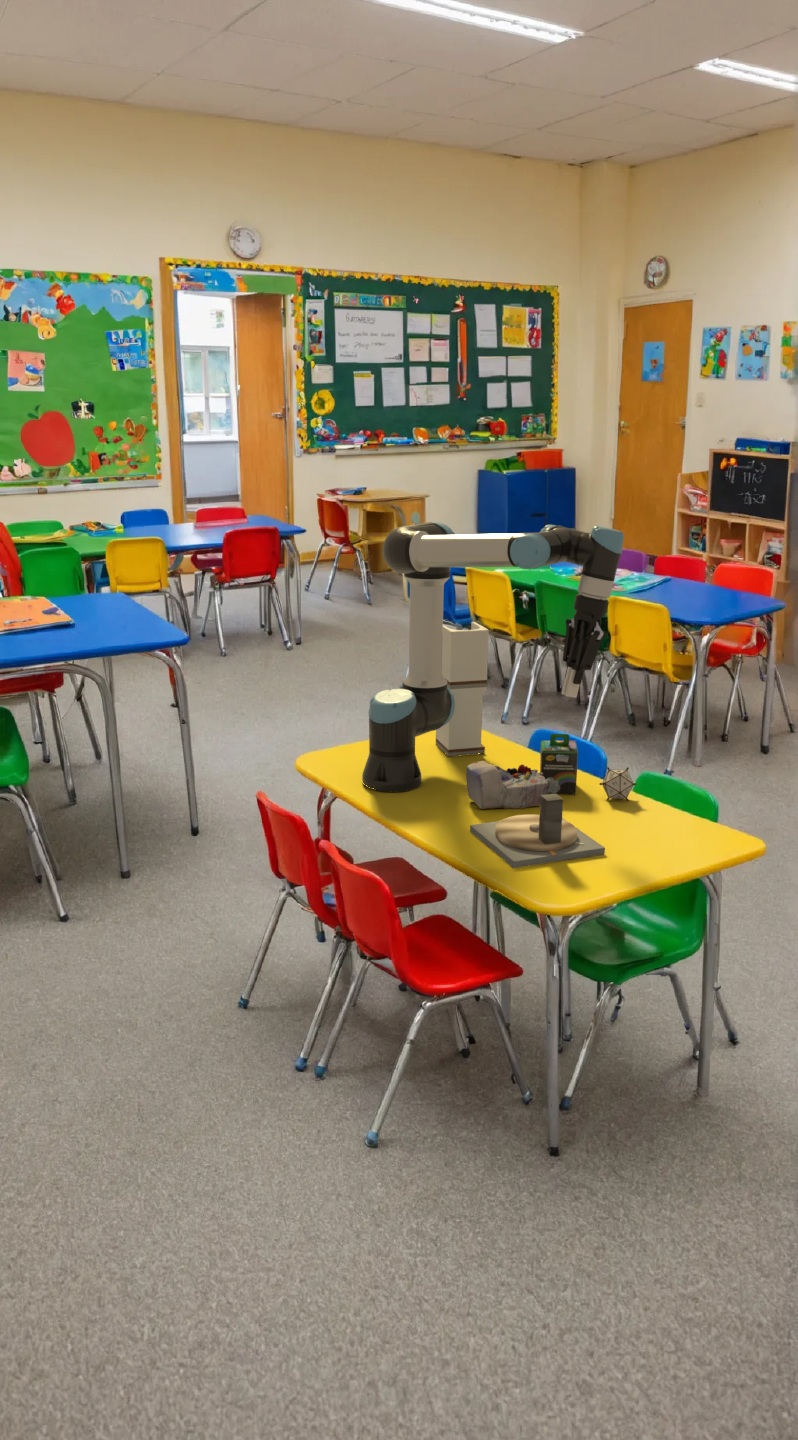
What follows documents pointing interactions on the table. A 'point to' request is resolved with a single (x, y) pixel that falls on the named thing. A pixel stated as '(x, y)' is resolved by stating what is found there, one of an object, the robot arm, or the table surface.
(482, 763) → the cell model
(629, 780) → the game die
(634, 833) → the table surface
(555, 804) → the dial
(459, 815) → the table surface
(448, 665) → the tall cream pedestal vase
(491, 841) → the dial base plate
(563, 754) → the chalk box
